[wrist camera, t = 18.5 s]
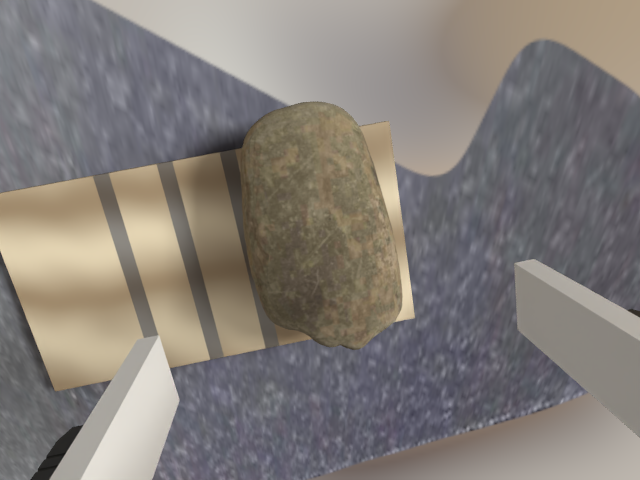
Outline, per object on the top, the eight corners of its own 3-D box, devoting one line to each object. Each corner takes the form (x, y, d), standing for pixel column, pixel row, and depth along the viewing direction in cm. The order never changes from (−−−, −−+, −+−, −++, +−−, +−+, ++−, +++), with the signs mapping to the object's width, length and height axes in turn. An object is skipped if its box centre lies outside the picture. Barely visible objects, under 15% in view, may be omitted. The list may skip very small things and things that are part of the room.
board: (-9, 194, 28) (-21, 197, 27) (384, 121, 29) (389, 121, 28) (63, 381, 32) (55, 391, 31) (410, 311, 33) (414, 317, 32)
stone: (285, 361, 30) (248, 373, 20) (255, 174, 33) (210, 107, 24) (409, 338, 30) (431, 338, 20) (366, 150, 33) (367, 72, 23)
